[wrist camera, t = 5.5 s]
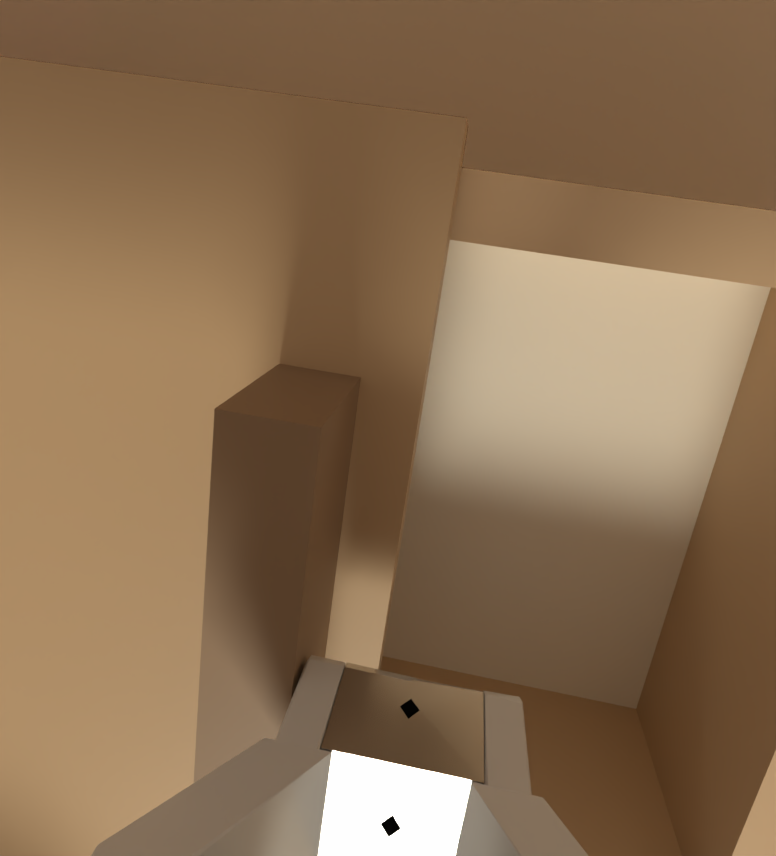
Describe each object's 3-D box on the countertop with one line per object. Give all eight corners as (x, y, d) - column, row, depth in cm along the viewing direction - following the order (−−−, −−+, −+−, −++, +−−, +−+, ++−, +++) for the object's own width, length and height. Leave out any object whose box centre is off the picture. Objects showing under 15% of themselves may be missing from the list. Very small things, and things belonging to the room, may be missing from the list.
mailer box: (814, 238, 15) (1067, 251, 9) (654, 719, 20) (740, 971, 13) (159, 145, 17) (-54, 95, 10) (148, 613, 21) (-6, 792, 14)
